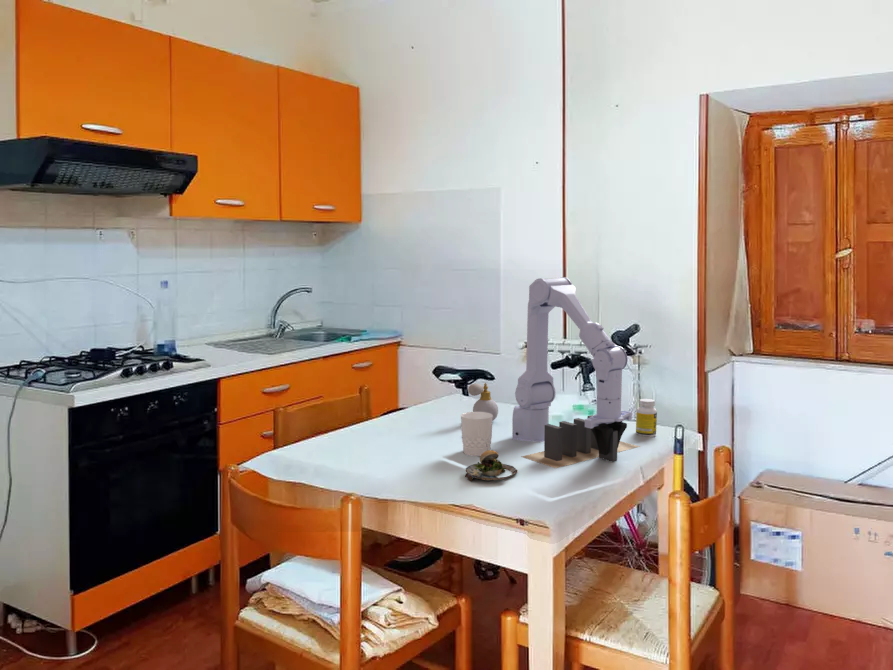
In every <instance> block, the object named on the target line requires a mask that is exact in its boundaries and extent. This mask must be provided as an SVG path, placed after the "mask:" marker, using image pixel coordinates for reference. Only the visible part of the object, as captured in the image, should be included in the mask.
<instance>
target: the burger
mask: <svg viewBox="0 0 893 670" xmlns="http://www.w3.org/2000/svg"><path fill="white" fill-rule="evenodd" d="M486 444H487V443H486ZM498 458H499V453H498V452H497V451H495V450H492V449H490V450H488V449H487V451H485V452H484V453H483V454H482V455H481V456H479V461H480V462H479V461H478V462H477V463H474V464H471V465H469V466H467V467H466V468H465V475H464V478H466V480H467V481H469V482H471V483H472V482H473V478H475V479H477V480H483V481H500V480H505V479H508V478H510V477H512V476H513V475H515V474H518V469H516V467H514V466H513V465H510V464H507V463H506V464H505V463H502V461H501V460H498ZM506 471H509V472H511V474H510V475H508V476H502V477H501V476H500V477H499V475H501V474H502V473H505V472H506Z"/></svg>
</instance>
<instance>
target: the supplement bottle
mask: <svg viewBox="0 0 893 670" xmlns="http://www.w3.org/2000/svg"><path fill="white" fill-rule="evenodd" d="M638 403H639V406H638V407H637V408H636V416H635V418H636V420H635V422H636V423H635V434H636V435H639V436H644V437H650V438H654V437H657V423H658V422H657V420H658V419H657V418H658V417H657V415H658V411H657V409H656V407H655V405H656V404H655V399H652V398H639V402H638Z"/></svg>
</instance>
